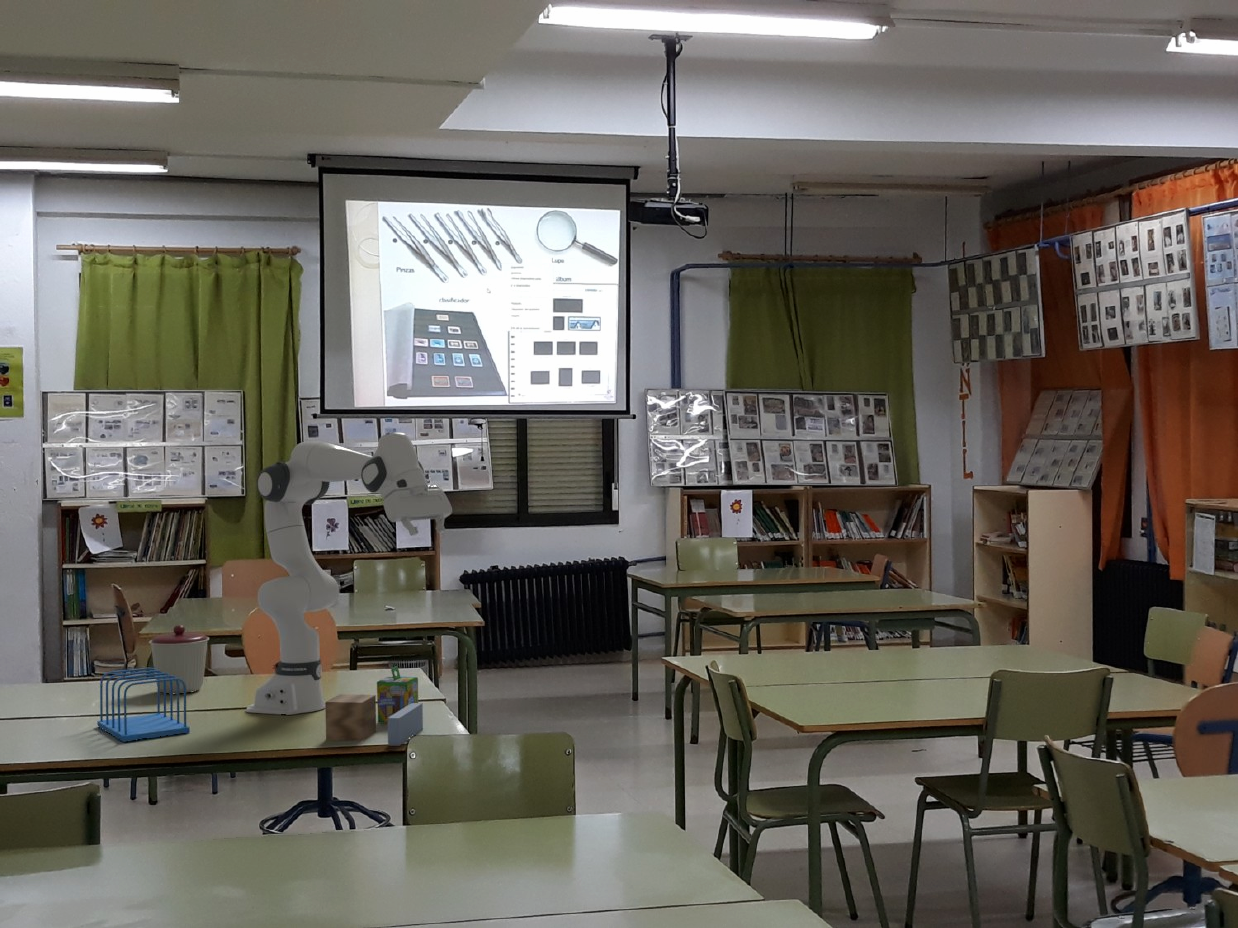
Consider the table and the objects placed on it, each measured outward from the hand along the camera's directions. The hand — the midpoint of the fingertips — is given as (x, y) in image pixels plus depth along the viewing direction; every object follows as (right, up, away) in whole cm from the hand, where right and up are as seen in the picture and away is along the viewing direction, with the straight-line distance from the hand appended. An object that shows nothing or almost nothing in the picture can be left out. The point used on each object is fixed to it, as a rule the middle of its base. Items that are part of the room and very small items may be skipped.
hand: (428, 533), depth 329 cm
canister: (-89, -54, +65) cm, 122 cm away
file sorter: (-79, -55, +10) cm, 97 cm away
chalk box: (-11, -53, +18) cm, 57 cm away
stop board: (-5, -53, -3) cm, 54 cm away
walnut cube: (-20, -54, -1) cm, 57 cm away
